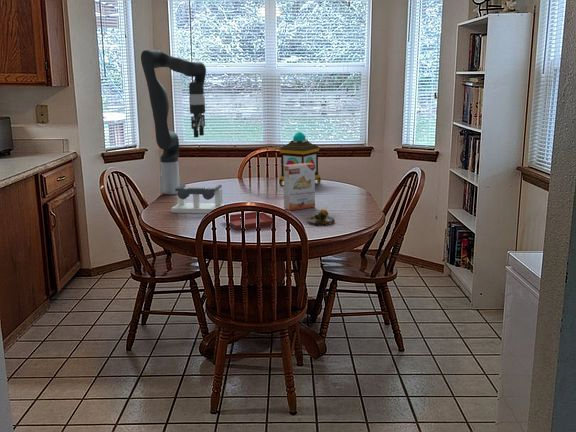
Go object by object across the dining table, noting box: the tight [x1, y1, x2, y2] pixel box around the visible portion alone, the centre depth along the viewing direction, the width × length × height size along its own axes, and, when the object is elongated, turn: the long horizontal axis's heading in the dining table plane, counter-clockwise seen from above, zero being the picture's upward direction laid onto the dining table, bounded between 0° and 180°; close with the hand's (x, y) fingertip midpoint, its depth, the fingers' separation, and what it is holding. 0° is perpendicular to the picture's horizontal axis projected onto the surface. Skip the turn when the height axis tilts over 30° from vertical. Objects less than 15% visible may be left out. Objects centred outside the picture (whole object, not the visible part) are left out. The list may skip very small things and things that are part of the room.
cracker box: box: [283, 163, 316, 211], centre depth 276 cm, size 14×6×21 cm, turn 117°
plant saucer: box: [222, 211, 273, 231], centre depth 251 cm, size 18×18×3 cm
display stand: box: [170, 187, 227, 214], centre depth 278 cm, size 23×12×10 cm, turn 80°
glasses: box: [175, 183, 222, 200], centre depth 278 cm, size 19×11×5 cm, turn 80°
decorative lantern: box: [278, 131, 321, 186], centre depth 334 cm, size 20×20×30 cm
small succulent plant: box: [306, 206, 336, 227], centre depth 251 cm, size 12×12×8 cm
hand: (199, 136), depth 295 cm, fingers open, 8 cm apart
